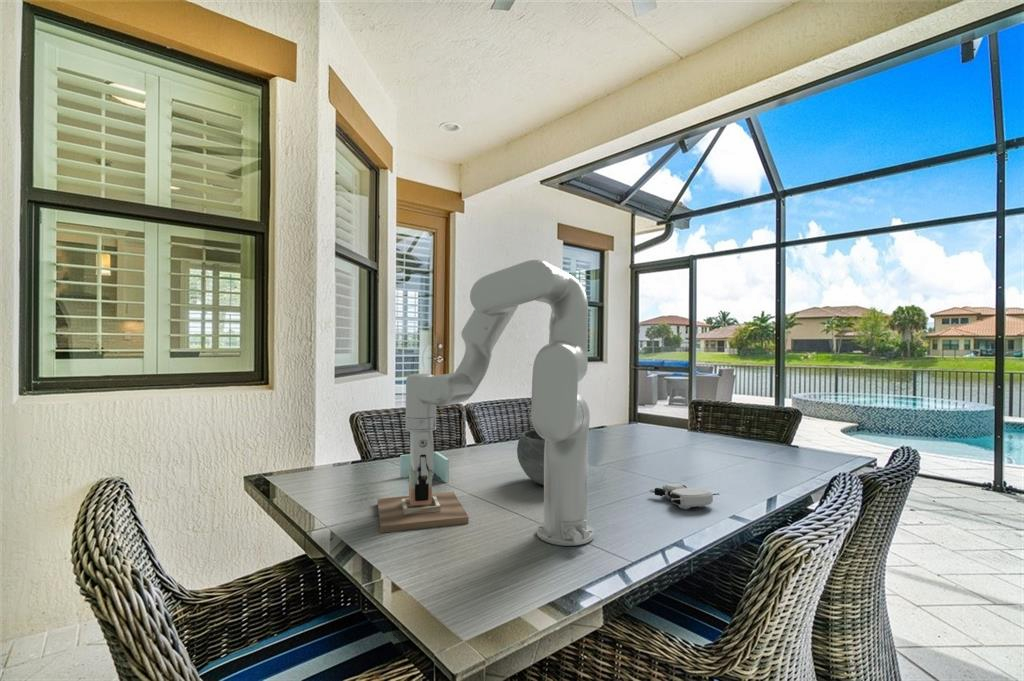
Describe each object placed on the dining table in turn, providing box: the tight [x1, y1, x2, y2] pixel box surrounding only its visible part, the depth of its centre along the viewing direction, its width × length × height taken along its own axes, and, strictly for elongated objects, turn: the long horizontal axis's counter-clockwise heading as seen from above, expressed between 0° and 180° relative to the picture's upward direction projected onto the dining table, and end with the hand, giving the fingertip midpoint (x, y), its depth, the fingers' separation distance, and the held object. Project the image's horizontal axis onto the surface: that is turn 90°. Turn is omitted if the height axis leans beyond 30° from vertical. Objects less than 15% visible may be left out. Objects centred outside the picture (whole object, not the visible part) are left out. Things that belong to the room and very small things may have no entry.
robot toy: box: [649, 483, 721, 510], centre depth 128 cm, size 12×4×15 cm
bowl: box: [516, 429, 545, 486], centre depth 146 cm, size 21×21×15 cm
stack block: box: [408, 467, 433, 505], centre depth 120 cm, size 5×5×8 cm
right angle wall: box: [399, 451, 450, 483], centre depth 150 cm, size 12×12×8 cm
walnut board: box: [377, 491, 469, 534], centre depth 120 cm, size 20×20×3 cm
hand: (420, 496), depth 120 cm, fingers closed on stack block, 5 cm apart
